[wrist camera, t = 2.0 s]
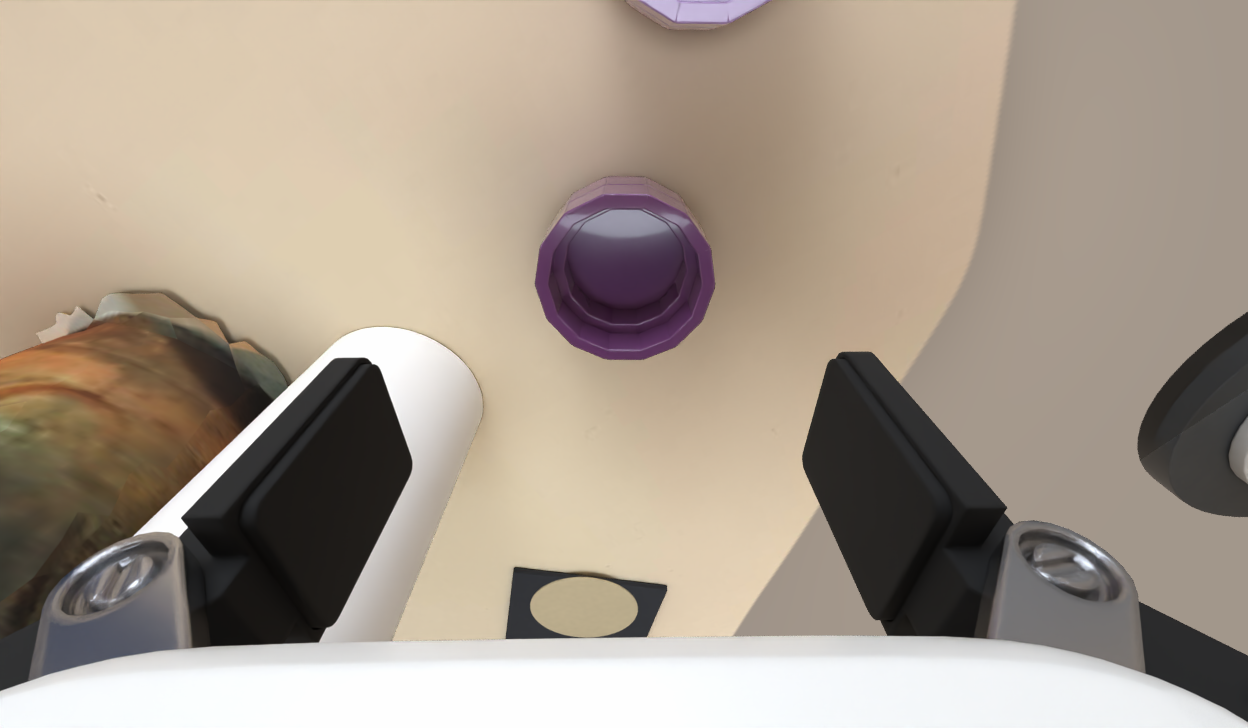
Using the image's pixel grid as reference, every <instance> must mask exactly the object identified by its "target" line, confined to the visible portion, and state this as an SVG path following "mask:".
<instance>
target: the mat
mask: <svg viewBox="0 0 1248 728" xmlns="http://www.w3.org/2000/svg"><path fill="white" fill-rule="evenodd" d="M666 592H667V586H666V585H657V584H649V583H641V582H632V581H624V580H615V579H607V578H599V577H590V576H582V575H573V574H565V573H557V572H548V571H540V570H531V569H523V568H514V572H513V580H512V589H511V598H510V606H509V615H508V623H507V632H506V639H556V638H631V637H647V635H648V633H649V631H650V628H651V626H652V624H653V622H654V619H655V617H656V615H657V612H658V610H659V608H660V605H661V603H662V601H663V599H664V596H665V594H666Z"/></svg>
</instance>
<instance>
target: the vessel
mask: <svg viewBox="0 0 1248 728" xmlns="http://www.w3.org/2000/svg"><path fill="white" fill-rule="evenodd" d="M55 318H56V324H54V325H53V326H51V327H50V328H48V329H46V330H43V331H40V332H37V333H36V334H37V336H38V337H39V339H40V341H41V342H42V343H43V344H40V345H37V346H35V347H32V348H29V349H26V350H24V351H21V352H18V353H16V354H13V355H10V356H8V357H6V358H3V359H1V360H0V639H2V638H4V637H6V636H8V635H10V634H12V633H14V632H16V631H18V630H20V629H22V628H24V627H26V626H28V625H30V624H32V623H34V622H36V621H38V620H40V618H41V612H42V608H43V606H44V604H45V601H46V599H47V597H48V595H49V593H50V592H51V591H52V590H53V589H54V587H55V586H56V585H57V584H58V583H59V581H60V580H61V579H62V578H63V577H64V576H66V575H67V574H68V573H69V572H70V571H71V570H73V569H74V568H75V567H76V566H77V565H79V564H80V563H82V562H83V561H85V560H86V559H88V558H89V557H91V556H92V555H94V554H95V553H97V552H98V551H101V550H103V549H105V548H107V547H109V546H111V545H113V544H115V543H117V542H119V541H122V540H124V539H127V538H130V537H133V536H134V535H135V534H136V533H137V532H138V531H139V530H140V529H141V528H142V527H143V526H144V525H145V524H146V523H147V522H148V521H149V520H150V519H151V518H153V517H154V516H155V515H156V514H157V513H158V512H159V511H160V510H161V509H162V508H163V507H164V506H165V505H166V504H167V503H168V502H169V501H170V500H171V499H172V498H173V497H174V496H175V495H176V494H178V493H179V492H180V491H181V490H182V489H183V488H184V487H185V486H186V485H187V484H188V483H189V482H190V481H191V480H192V479H193V478H194V477H195V476H196V475H197V474H198V473H199V472H200V471H201V470H203V469H204V468H205V467H206V466H207V465H208V464H209V463H210V462H211V461H212V460H213V459H214V458H215V457H216V456H217V455H218V454H219V453H220V452H221V451H222V450H223V449H224V448H225V447H226V446H228V445H229V444H230V443H231V442H232V441H233V440H234V439H235V438H236V437H237V436H238V435H239V434H240V433H241V432H242V431H243V430H244V429H245V428H246V427H247V426H248V425H249V424H250V423H251V422H253V421H254V420H255V419H256V418H257V417H258V416H259V415H260V414H261V413H262V412H263V411H264V410H265V409H266V408H267V407H268V406H269V405H270V404H271V403H272V402H273V401H274V400H275V399H276V398H278V397H279V396H280V395H281V394H282V393H283V392H284V391H285V390H286V389H287V388H288V386H287V383H286V380H285V378H284V376H283V375H282V373H281V372H280V370H279V369H278V368H277V366H276V365H275V363H274V362H273V361H271V360H270V359H268V358H267V357H265V356H264V355H262V354H260V353H259V352H258V351H256V350H255V349H254V348H253V347H252V346H250V345H249V344H248V343H247V342H246V341H241V342H236V343H231V344H228V342H227V340H226V338H225V337H224V335H223V333H222V331H221V330H220V328H219V326H218V324H217V323H216V321H211V320H205V319H200V318H196V317H195V316H193V315H192V314H191V313H190V312H188V311H187V310H186V309H184V308H183V307H182V306H180V305H179V304H177V303H176V302H174V301H173V300H171V299H170V298H168V297H167V296H166V295H164V294H163V293H146V294H131V293H112V294H109V295H107V296H105V297H103V298H102V300H101V302H100V305H99V308H98V310H97V313H96V315H95V318H94V319H93V318H92V317H90V316H89V315H88V314H87V313H85V312H84V311H83V310H82V309H80V308H79V307H78V306H77V307H76V308H75V310H74V311H73V313H72V314H71V315H67V314H63V313H59V312H58V313H57V315H56V317H55Z"/></svg>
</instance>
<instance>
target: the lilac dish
mask: <svg viewBox="0 0 1248 728" xmlns="http://www.w3.org/2000/svg"><path fill="white" fill-rule="evenodd" d="M770 1H772V0H625V2H628V5H629V6H631V7H632V8H634V9H635V10H637V11H639V12H640V13H642V14H643V15H645V16H647V17H648V18H650V19H651V20H653V21H655V22H656V23H658V24H659V25H661V26H663V27H664V28H668V29H670V30H712V29H716V28H719V27H721V26H724V25H727V24H730V23H732V22H733V21H735V20H737V19H739V18H741V17H743V16H744V15H746V14H748V13H750V12H752V11H753V10H755V9H757V8H759V7H761V6H763V5H764V4H766V3H768V2H770Z"/></svg>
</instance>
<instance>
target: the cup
mask: <svg viewBox="0 0 1248 728" xmlns="http://www.w3.org/2000/svg"><path fill="white" fill-rule="evenodd" d="M358 357H365V358H367V359H369V360H370V361H371V363H372V364H375V365H377V366H378V367H379V368H380V370H381V372H382V375H383V378H384V381H385V384H386V386H387V389H388V392H389V395H390V398H391V401H392V403H393V406H394V409H395V412H396V415H397V417H398V420H399V423H400V426H401V429H402V431H403V434H404V437H405V440H406V443H407V446H408V448H409V451H410V454H411V457H412V463H413V465H412V472H411V475H410V477H409V479H408V481H407V483H406V485H405V487H404V489H403V491H402V493H401V495H400V497H399V499H398V501H397V503H396V505H395V507H394V509H393V511H392V513H391V515H390V517H389V519H388V521H387V523H386V525H385V527H384V529H383V531H382V533H381V535H380V537H379V539H378V541H377V543H376V545H375V547H374V549H373V551H372V553H371V555H370V557H369V559H368V561H367V563H366V565H365V567H364V569H363V571H362V573H361V575H360V577H359V579H358V581H357V582H356V584H355V586H354V588H353V590H352V592H351V594H350V596H349V598H348V600H347V602H346V604H345V606H344V608H343V610H342V612H341V614H340V616H339V618H338V620H337V621H336V622H335V624H334V625H333V626H331V627H327V628H326V630H325V632H324V633H323V635H322V637H321V639H320V641H319V643H326V642H379V641H392V639H393V637H394V634H395V632H396V629H397V627H398V624H399V622H400V619H401V617H402V614H403V612H404V609H405V607H406V604H407V602H408V599H409V597H410V595H411V592H412V590H413V587H414V585H415V582H416V580H417V577H418V575H419V572H420V570H421V567H422V565H423V562H424V560H425V557H426V555H427V553H428V550H429V548H430V545H431V543H432V540H433V538H434V535H435V533H436V530H437V528H438V525H439V523H440V520H441V518H442V515H443V513H444V511H445V508H446V506H447V503H448V501H449V498H450V496H451V493H452V491H453V488H454V486H455V483H456V481H457V478H458V476H459V473H460V471H461V468H462V466H463V464H464V461H465V459H466V456H467V454H468V451H469V449H470V446H471V444H472V441H473V439H474V436H475V434H476V431H477V429H478V426H479V424H480V421H481V418H482V414H483V399H482V394H481V390H480V387H479V385H478V382H477V381H476V379H475V377H474V375H473V374H472V372H471V371H470V369H469V368H468V367H467V366H466V364H465V363H464V362H463V361H462V360H461V359H460V358H459V357H458V356H456V355H455V354H454V353H453V352H452V351H450V350H449V349H448V348H446V347H445V346H443V345H442V344H440V343H438V342H436V341H435V340H433V339H431V338H428V337H426V336H424V335H421V334H419V333H416V332H412V331H409V330H405V329H400V328H392V327H371V328H364V329H360V330H357V331H354V332H351V333H349V334H347V335H345V336H343V337H342V338H340V339H339V340H337V341H336V342H335V343H334V344H333V345H332V346H331V347H330V348H329V349H328V350H326V351H325V352H324V353H323V354H322V355H321V356H320V357H319V358H318V359H317V360H316V361H315V362H314V363H313V364H312V365H311V366H310V367H309V368H308V369H307V370H306V371H305V372H304V373H303V374H301V375H300V376H299V377H298V378H297V379H296V380H295V381H294V382H293V383H292V384H291V385H290V386H289V387H288V388H287V389H286V390H285V391H284V392H283V393H282V394H281V395H280V396H279V397H278V398H276V399H275V400H274V401H273V402H272V403H271V404H270V405H269V406H268V407H267V408H266V409H265V410H264V411H263V412H262V413H261V414H260V415H259V416H258V417H257V418H256V419H255V420H254V421H253V422H251V423H250V424H249V425H248V426H247V427H246V428H245V429H244V430H243V431H242V432H241V433H240V434H239V435H238V436H237V437H236V438H235V439H234V440H233V441H232V442H231V443H230V444H229V445H228V446H226V447H225V448H224V449H223V450H222V451H221V452H220V453H219V454H218V455H217V456H216V457H215V458H214V459H213V460H212V461H211V462H210V463H209V464H208V465H207V466H206V467H205V468H204V469H203V470H201V471H200V472H199V473H198V474H197V475H196V476H195V477H194V478H193V479H192V480H191V481H190V482H189V483H188V484H187V485H186V486H185V487H184V488H183V489H182V490H181V491H180V492H179V493H178V494H176V495H175V496H174V497H173V498H172V499H171V500H170V501H169V502H168V503H167V504H166V505H165V506H164V507H163V508H162V509H161V510H160V511H159V512H158V513H157V514H156V515H155V516H154V517H153V518H151V519H150V520H149V521H148V522H147V523H146V524H145V525H144V526H143V527H142V528H141V529H140V530H139V531H138V532H137V533H136V534H135V535H134V536H136V535H139V534H145V533H151V532H170V533H172V534H173V535H175V536H177V537H180V536H181V534H182V533H183V532H184V531H185V530H186V529H187V528H188V527H187V526H186V524H185V523H184V522H183V521H182V519H181V517H182V516H183V515H184V514H185V513H186V512H187V511H188V510H189V509H190V508H191V507H192V506H193V505H194V503H195V502H196V501H197V500H198V499H199V498H200V497H201V496H202V495H203V494H204V493H205V492H206V491H207V490H208V489H209V488H210V487H211V486H212V485H213V484H214V483H215V482H216V481H217V479H218V478H219V477H220V476H221V475H222V474H223V473H224V472H225V471H226V470H227V469H228V468H229V467H230V466H231V465H232V464H233V463H234V462H235V461H236V460H237V459H238V458H239V457H240V455H241V454H242V453H243V452H244V451H245V450H246V449H247V448H248V447H249V446H250V445H251V444H252V443H253V442H254V441H255V440H256V439H257V438H258V437H259V436H260V435H261V434H262V433H263V431H264V430H265V429H266V428H267V427H268V426H269V425H270V424H271V423H272V422H273V421H274V420H275V419H276V418H277V417H278V416H279V415H280V414H281V413H282V412H283V411H284V410H285V409H286V407H287V406H288V405H289V404H290V403H291V402H292V401H293V400H294V399H295V398H296V397H297V396H298V395H299V394H300V393H301V392H302V391H303V390H304V389H305V388H306V387H307V386H308V385H309V383H310V382H311V381H312V380H313V379H314V378H315V377H316V376H317V375H318V374H319V373H320V372H321V371H322V370H323V369H324V368H325V367H326V366H327V365H328V364H329V363H330V362H331V361H332V360H333V359H335V358H358Z"/></svg>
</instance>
